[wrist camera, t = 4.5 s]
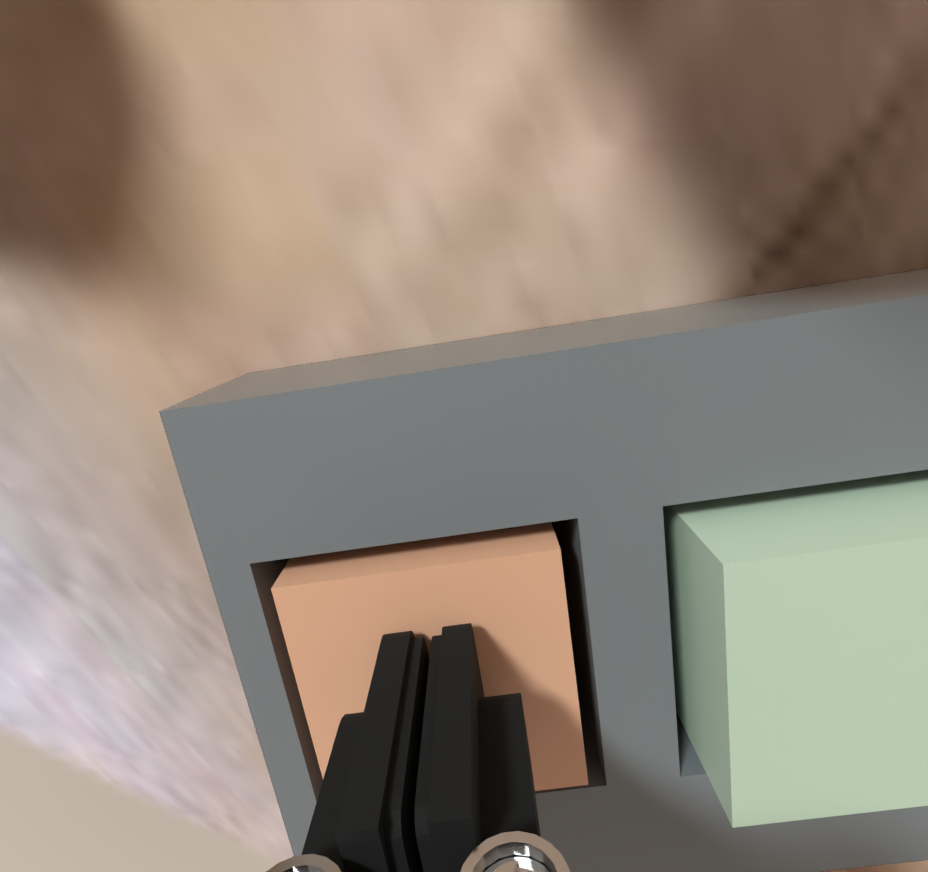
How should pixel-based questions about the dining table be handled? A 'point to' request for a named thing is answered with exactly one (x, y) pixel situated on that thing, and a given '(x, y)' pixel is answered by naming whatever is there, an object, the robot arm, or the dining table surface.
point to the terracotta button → (440, 630)
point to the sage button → (804, 646)
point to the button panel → (567, 520)
